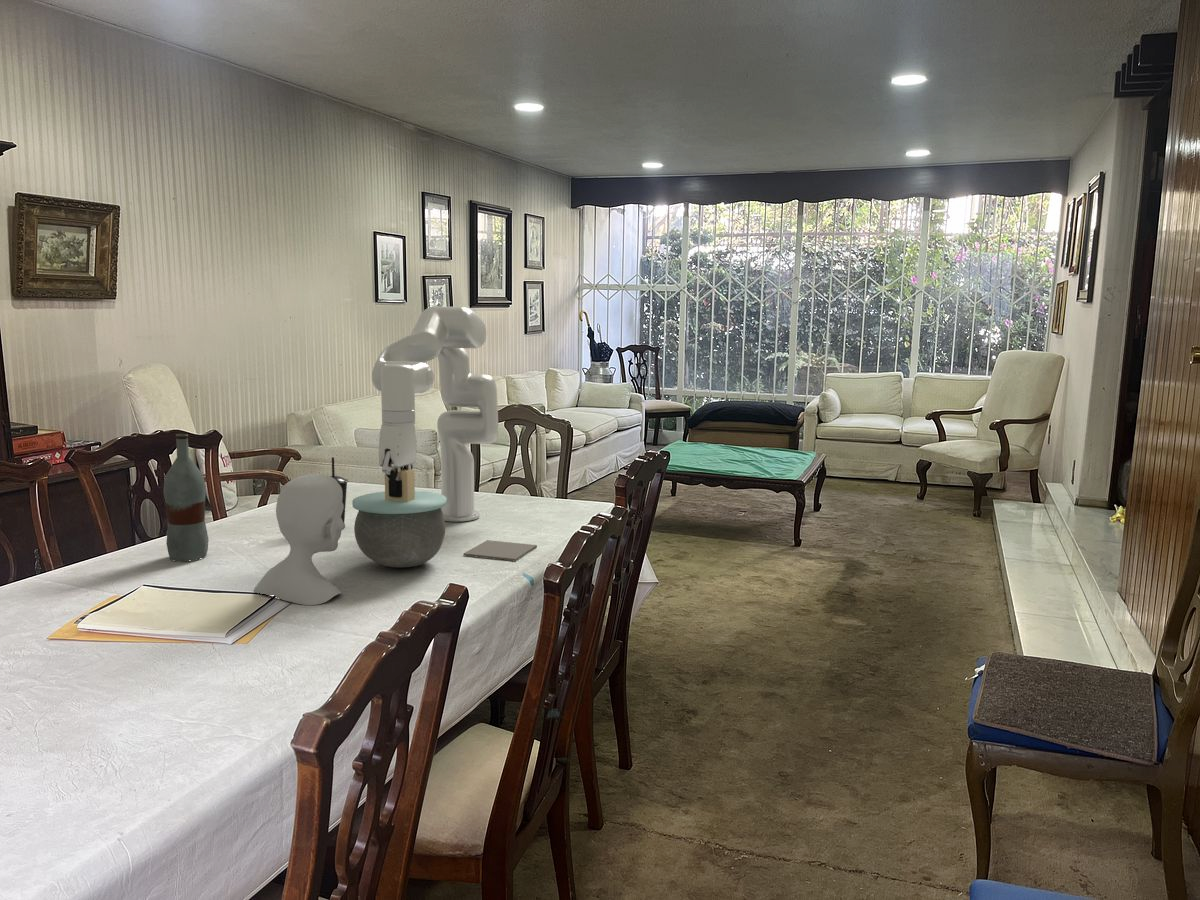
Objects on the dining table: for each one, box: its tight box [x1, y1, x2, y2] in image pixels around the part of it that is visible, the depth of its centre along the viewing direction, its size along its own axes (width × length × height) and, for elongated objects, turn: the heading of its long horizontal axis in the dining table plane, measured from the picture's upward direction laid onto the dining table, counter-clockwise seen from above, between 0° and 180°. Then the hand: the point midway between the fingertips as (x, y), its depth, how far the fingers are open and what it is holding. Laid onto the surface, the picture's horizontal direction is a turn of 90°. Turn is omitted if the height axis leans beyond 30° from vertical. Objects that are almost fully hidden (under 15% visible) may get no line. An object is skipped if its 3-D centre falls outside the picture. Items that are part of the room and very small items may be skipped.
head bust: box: [253, 473, 346, 606], centre depth 191 cm, size 22×19×25 cm
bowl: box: [353, 508, 446, 568], centre depth 210 cm, size 21×21×15 cm
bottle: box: [162, 433, 209, 562], centre depth 212 cm, size 9×9×30 cm
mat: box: [463, 539, 538, 562], centre depth 224 cm, size 14×14×1 cm
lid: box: [351, 469, 447, 514], centre depth 208 cm, size 22×22×8 cm
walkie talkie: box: [329, 456, 349, 524], centre depth 243 cm, size 8×8×20 cm
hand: (399, 494), depth 208 cm, fingers closed on lid, 3 cm apart
